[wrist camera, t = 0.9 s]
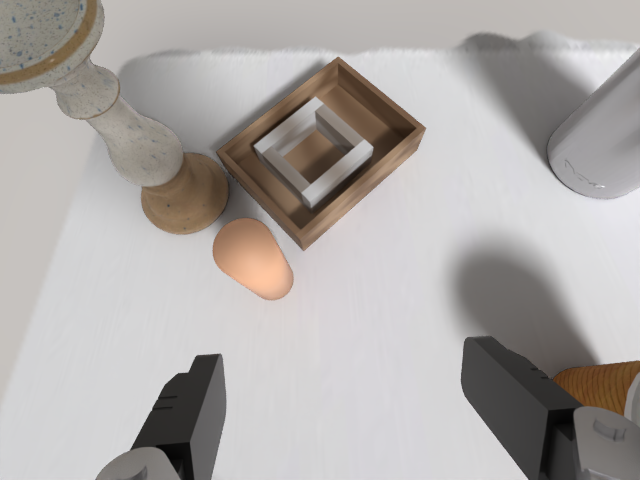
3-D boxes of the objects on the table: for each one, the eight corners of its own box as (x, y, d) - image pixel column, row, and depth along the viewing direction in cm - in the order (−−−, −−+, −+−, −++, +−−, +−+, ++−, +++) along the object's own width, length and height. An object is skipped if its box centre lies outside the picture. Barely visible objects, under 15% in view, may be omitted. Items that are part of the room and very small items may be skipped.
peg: (274, 250, 34) (247, 206, 23) (302, 280, 33) (287, 248, 22) (243, 278, 33) (200, 245, 22) (270, 309, 32) (238, 290, 21)
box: (337, 83, 39) (338, 56, 35) (416, 150, 36) (426, 128, 33) (227, 171, 36) (215, 151, 33) (303, 251, 33) (300, 239, 30)
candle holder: (193, 142, 38) (41, -76, 18) (247, 192, 35) (142, 7, 16) (128, 197, 36) (-113, 21, 16) (182, 253, 34) (-22, 127, 14)
